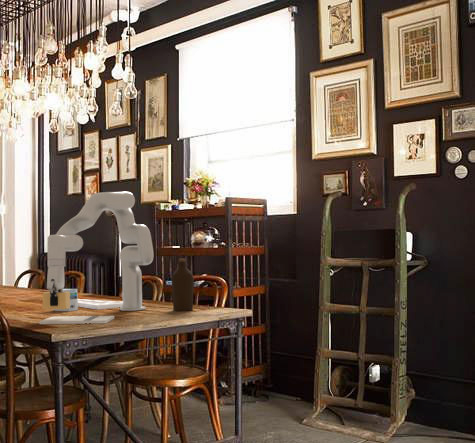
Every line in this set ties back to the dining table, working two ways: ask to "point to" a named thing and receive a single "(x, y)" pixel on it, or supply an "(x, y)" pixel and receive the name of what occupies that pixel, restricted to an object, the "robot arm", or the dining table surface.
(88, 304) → the holder
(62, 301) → the tan rectangular block
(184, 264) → the olive oil
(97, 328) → the dining table surface
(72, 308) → the light bulb box
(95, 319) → the white flat panel
